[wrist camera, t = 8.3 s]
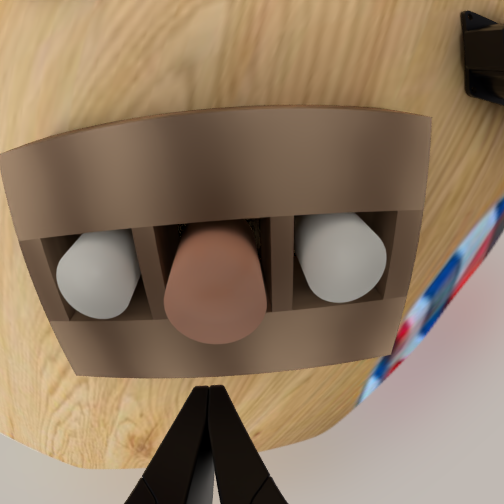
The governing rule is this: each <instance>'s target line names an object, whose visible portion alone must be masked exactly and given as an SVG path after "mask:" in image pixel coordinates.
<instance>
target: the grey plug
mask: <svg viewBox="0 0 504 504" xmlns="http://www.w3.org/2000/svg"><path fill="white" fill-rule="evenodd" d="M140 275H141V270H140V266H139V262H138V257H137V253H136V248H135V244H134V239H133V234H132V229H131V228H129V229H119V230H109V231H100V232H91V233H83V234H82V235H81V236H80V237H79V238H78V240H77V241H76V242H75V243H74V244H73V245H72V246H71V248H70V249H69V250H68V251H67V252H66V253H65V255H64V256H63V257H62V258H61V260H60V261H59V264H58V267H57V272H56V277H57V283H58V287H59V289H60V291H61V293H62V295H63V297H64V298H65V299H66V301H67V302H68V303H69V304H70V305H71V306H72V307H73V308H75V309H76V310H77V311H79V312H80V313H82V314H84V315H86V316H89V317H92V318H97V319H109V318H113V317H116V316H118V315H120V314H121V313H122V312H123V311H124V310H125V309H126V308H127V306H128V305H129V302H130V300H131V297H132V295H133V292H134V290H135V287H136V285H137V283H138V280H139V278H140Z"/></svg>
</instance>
